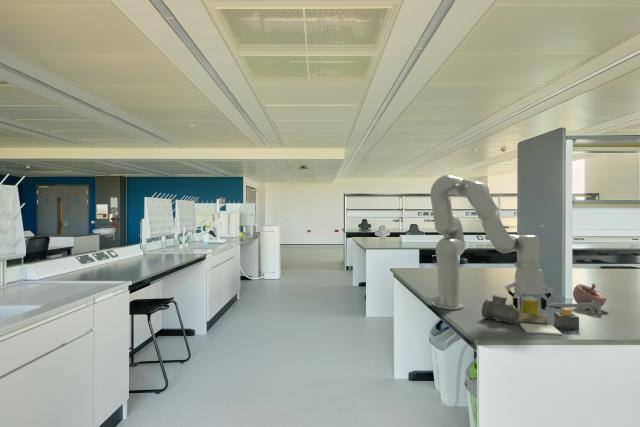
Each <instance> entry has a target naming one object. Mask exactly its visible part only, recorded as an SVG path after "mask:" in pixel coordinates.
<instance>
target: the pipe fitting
mask: <svg viewBox="0 0 640 427" xmlns="http://www.w3.org/2000/svg"><path fill="white" fill-rule="evenodd" d="M507 298H508V297H506V296H505V295H500V294H492V298H486V299H485V300H484V302H483V303H482V307H481V315H482V317H483V319H487V320H492V319H494V320H495V319H496V320H498V321H500V322H503V323H507V324H510V325H515V324H516V323H517V322H518V312H517V310H516V309H514V306H513V304H510V303H507V300H508V299H507Z"/></svg>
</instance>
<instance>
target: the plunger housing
mask: <svg viewBox="0 0 640 427" xmlns="http://www.w3.org/2000/svg"><path fill="white" fill-rule="evenodd" d="M553 314H554V316H553V317H554V325H553V326H554V327H555V328H556V329H558V330H559V331H574V332H580V317H579V316H578V315H576V314H575V313H574V312H571V316H564V315H561V312H560V311H554V313H553Z"/></svg>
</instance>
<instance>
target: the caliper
mask: <svg viewBox="0 0 640 427" xmlns="http://www.w3.org/2000/svg"><path fill="white" fill-rule="evenodd" d="M592 302H593V303H579V304H577V303H561V302H560V303H551V302H550V303H549V304H546V307H548V306H549V307H551V308H552V307H553V308H579V309H580V310H590V312H591V314H592V315H593V316H595V315H598V316H601V315H602V309H601V308H602V307H600V304H599V303H597V300H596V301H594V300H592ZM589 308H590V309H589ZM594 308H596V309H594ZM596 312H597V314H596Z"/></svg>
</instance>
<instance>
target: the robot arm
mask: <svg viewBox="0 0 640 427" xmlns="http://www.w3.org/2000/svg"><path fill="white" fill-rule="evenodd" d="M429 193H430V202H431V207H432V215H433V223H434V228H435V231H436V232H437V233H438V234H440V235H442V236H443V237H442V238H441V239H439V240H438V241H437V243H436V245H435V255H436V256H435V257H436V266H437V267H436V268H437V269H436V270H437V274H436V275H437V279H436V280H437V282H436V283H437V285H436V286H437V294H436V295H434V296H427V297H426V298H427V299H426V301H430V302H434V303H433V306H434V307H436V308H439V309H442V310H453V311H454V310H462V309H464V304H463V303H461V302H460V298H461V297H460V263H459V262H460V261H459V257H460V256H461V255H462V254H464V252H465V249H466V242H465V237H464V230H463V225H462V222H461V219H460V218H459V216H457V215H455V214H453V209H452V201H451V200H450V195H452V196H457V197H461V198H465V199H467V201H468V202H469V204H470V205H471V207H472V209H473V210H474V212H475V214H476V215H477V217H478V218H479V222H480V223H481V226H482V228H483V231H484V233H485V234H486V236H487V238H488V239H489V241H490V243H491V245H492V246H493V247H494V249H495V250H496V251H497V252H499V253H501V254H509V253H512V252H517V262H514V263H513V265H514V267H517V268H516V269H515V275H514V282H512V283H510V284H508V285H506V286H504V288H505V290H506V291H507V294H509V295H510V296H511V297H512V305H513V306H514V307H515V308H519V299H518V297H519V296H520V295H535V296H540V297H541V298H540V308H541V309H542V310H543V311H546V308H547V300H548V298H550V297H551V296H552V294H553V292H554V291H555V289H554V288H553V287H551V286H549V285H547V284H545V278H544V274H543V272H544V271H543V269H540V239H539V236H537V235H534V234H533V235H532V234H524V235H523V234H521V235H518V234H511V233H509V232H508V231H507V230H506V227H505V226H504V224H503V222H502V220H501V216H500V215H501V214H500V210H499V207H498V206H497V204H496V203H495V201H494V199H493V198H492V197H491V195H490V188H489V186H488V185H486V183H484V182H481V181H474V180H469V179H466V178H462V177H458V176H454V175H449V174H446V175H445V174H444V175H442V176H440V177H438V178H437V179H436V180H435V181H434V182H433V183H432V185H431V189H430V192H429ZM512 288H514V292H512V290H511V289H512ZM546 290H548V291H547V292H546Z"/></svg>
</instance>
